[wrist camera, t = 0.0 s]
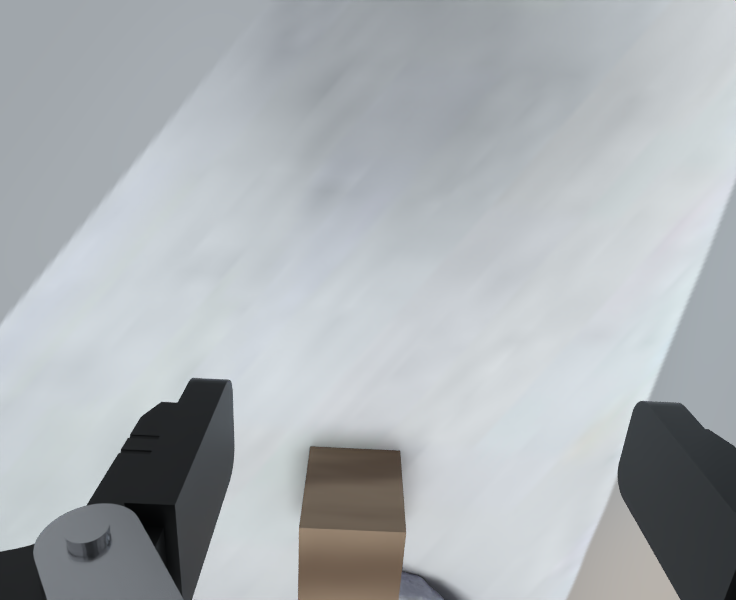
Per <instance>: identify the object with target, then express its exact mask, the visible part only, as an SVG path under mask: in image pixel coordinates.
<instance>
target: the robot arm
mask: <svg viewBox="0 0 736 600" xmlns="http://www.w3.org/2000/svg"><path fill="white" fill-rule="evenodd" d="M233 461H234V419H233V390H232V383H231V381H230V380H223V379H202V378H192V379H190V381H189V383H188V385H187V386H186V388H185V390H184V392H183V394H182V396H181V398H180V399H179V401H178V403H171V402H161V403H159V404H158V405H157V406H155V407H154V408H153V409H151V410H150V411H148V412H147V413H146V414H144V415H143V416H142V417H141V418H140V419H139V421H138V423H137V424H136V426H135V428H134V429H133V431H132V432H131V434H130V438H128V439H127V441H126V442H125V444H124V445H123V447H122V449H121V453H119V454H118V455H117V457H116V458H115V460H114V462H113V463H112V465H111V467H110V468H109V470H108V471H107V473H106V475H105V476H104V478H103V480H102V481H101V483H100V484H99V486H98V488H97V489H96V491H95V493H94V494H93V496H92V497H91V499H90V501H89V502H88V504H87V506H83V507H80V508H77V509H74V510H72V511H70V512H67V513H65V514H64V515H62V516H60V517H58V518H57V519H55V520H54V521H53V522H51V523H50V524H49V525H48V526H47V527H46V528H45V529H44V530H43V531H42V532H41V533H40V535H39V537H38V538H37V540H36V542H35V544H33V545H30V546H26V547H22V548H18V549H12V550H7V551H2V552H0V600H192V598H193V595H194V591H195V588H196V585H197V582H198V579H199V576H200V573H201V569H202V566H203V563H204V560H205V557H206V554H207V551H208V547H209V544H210V541H211V538H212V535H213V532H214V529H215V525H216V522H217V519H218V516H219V513H220V510H221V507H222V503H223V500H224V497H225V494H226V491H227V488H228V485H229V482H230V478H231V474H232V469H233ZM618 484H619V489H620V493H621V495H622V498H623V500H624V501H625V503H626V505H627V507H628V508H629V510H630V512H631V514H632V515H633V517H634V519H635V521H636V522H637V524H638V526H639V528H640V529H641V531H642V533H643V535H644V536H645V538H646V540H647V541H648V543H649V545H650V547H651V549H652V550H653V552H654V554H655V555H656V557H657V559H658V561H659V563H660V564H661V566H662V568H663V570H664V571H665V573H666V575H667V577H668V579H669V580H670V582H671V584H672V585H673V587H674V589H675V591H676V593H677V594H678V596H679V598H680V599H681V600H736V448H735V447H734V446H733V445H732V444H730V443H729V442H727V441H725V440H724V439H723V438H721V437H719V436H718V435H716V434H715V433H713V432H712V431H710V430H709V429H704V427H703V426H702V425H701V424H700V423H699V422H698V421H697V420H696V418H695V417H694V416H693V415H692V414H691V413H690V412H689V411H688V410H687V408H686V407H685V406H684V405H682V404H681V403H671V402H652V401H640V402H638V403H637V404H636V406H635V407H634V409H633V412H632V416H631V420H630V424H629V427H628V431H627V435H626V439H625V442H624V446H623V450H622V454H621V458H620V461H619V466H618Z"/></svg>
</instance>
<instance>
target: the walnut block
mask: <svg viewBox="0 0 736 600" xmlns="http://www.w3.org/2000/svg"><path fill="white" fill-rule="evenodd" d="M405 538H406V524H405V511H404V497H403V484H402V470H401V457H400V451H396V450H374V449H353V448H331V447H310V453H309V460H308V467H307V474H306V482H305V489H304V496H303V503H302V511H301V518H300V525H299V574H298V600H399V592H400V583H401V574H402V565H403V556H404V547H405Z"/></svg>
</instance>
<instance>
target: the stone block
mask: <svg viewBox="0 0 736 600" xmlns="http://www.w3.org/2000/svg"><path fill="white" fill-rule="evenodd" d="M399 600H444V599H443V598H442V597H441V595H440V594H439V593H438V592H437V591H435V590H434V589H432V588H431V587H430V586H429V585H428V584H427V583H426V581H425V580H424V579H423V578H421V577H420V576H419V575H413V574H409V573H405V572H403V571H402V574H401V583H400V592H399Z"/></svg>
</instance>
